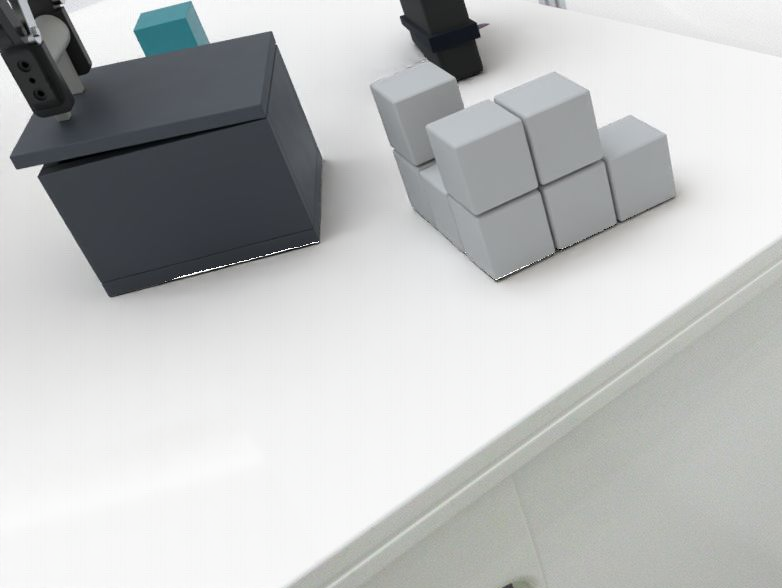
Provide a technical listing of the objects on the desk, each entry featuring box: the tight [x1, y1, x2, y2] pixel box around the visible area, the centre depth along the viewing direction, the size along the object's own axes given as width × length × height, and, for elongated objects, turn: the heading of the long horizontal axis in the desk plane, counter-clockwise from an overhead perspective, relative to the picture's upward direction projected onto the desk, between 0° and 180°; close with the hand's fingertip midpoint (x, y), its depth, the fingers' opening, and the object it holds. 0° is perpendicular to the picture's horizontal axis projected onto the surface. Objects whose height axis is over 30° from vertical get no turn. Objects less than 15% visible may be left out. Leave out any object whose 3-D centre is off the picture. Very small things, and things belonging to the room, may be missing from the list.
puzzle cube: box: [369, 60, 677, 280], centre depth 62 cm, size 12×12×8 cm
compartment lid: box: [9, 15, 277, 171], centre depth 62 cm, size 14×12×5 cm
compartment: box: [37, 44, 323, 298], centre depth 67 cm, size 13×12×8 cm
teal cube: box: [132, 0, 211, 57], centre depth 92 cm, size 4×4×4 cm
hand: (66, 91), depth 63 cm, fingers closed on compartment lid, 5 cm apart
